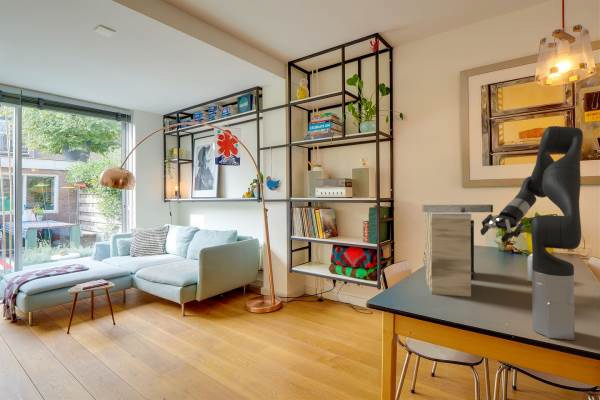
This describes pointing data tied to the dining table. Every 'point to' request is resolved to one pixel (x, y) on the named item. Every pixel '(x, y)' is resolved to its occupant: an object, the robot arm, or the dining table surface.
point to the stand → (448, 252)
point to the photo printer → (529, 268)
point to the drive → (457, 208)
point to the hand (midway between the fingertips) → (491, 237)
